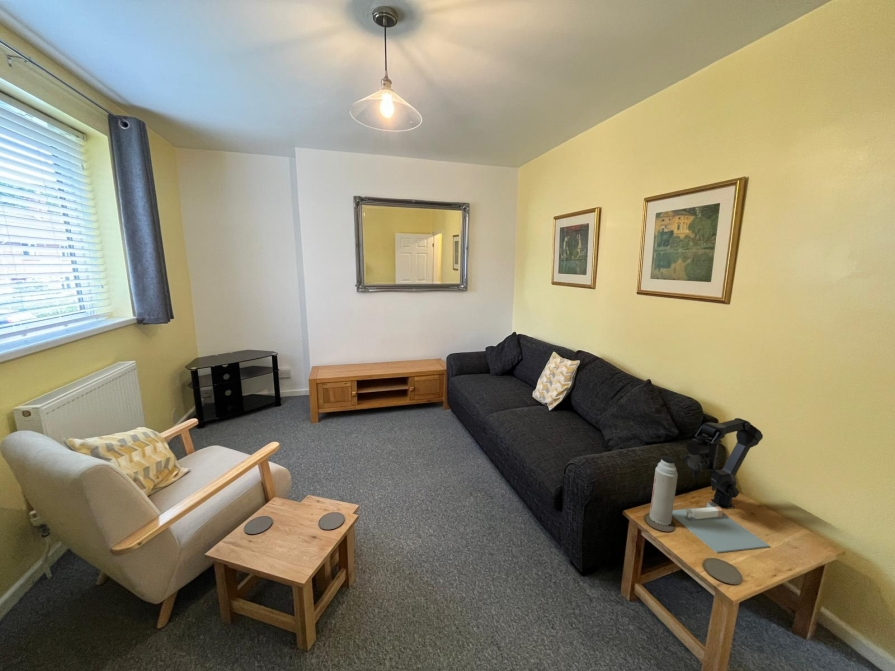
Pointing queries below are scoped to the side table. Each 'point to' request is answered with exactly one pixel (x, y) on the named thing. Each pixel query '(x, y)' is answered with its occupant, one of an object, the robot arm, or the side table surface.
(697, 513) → the white rectangular bar
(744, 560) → the side table surface
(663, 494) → the thermos bottle
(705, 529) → the board
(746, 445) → the robot arm
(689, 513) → the posts
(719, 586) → the side table surface
